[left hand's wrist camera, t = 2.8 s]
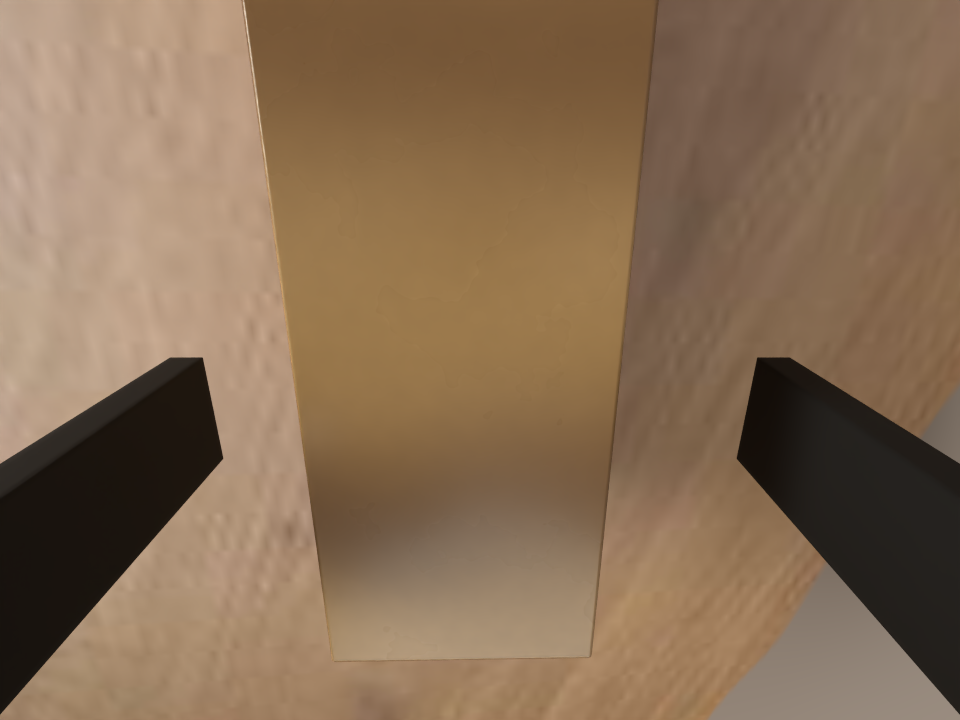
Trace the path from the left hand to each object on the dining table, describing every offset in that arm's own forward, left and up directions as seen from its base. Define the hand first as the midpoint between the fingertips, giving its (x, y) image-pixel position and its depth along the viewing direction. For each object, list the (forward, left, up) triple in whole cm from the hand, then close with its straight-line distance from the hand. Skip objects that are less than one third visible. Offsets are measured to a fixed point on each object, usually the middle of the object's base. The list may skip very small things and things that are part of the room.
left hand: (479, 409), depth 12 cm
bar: (+6, +4, -5) cm, 8 cm away
